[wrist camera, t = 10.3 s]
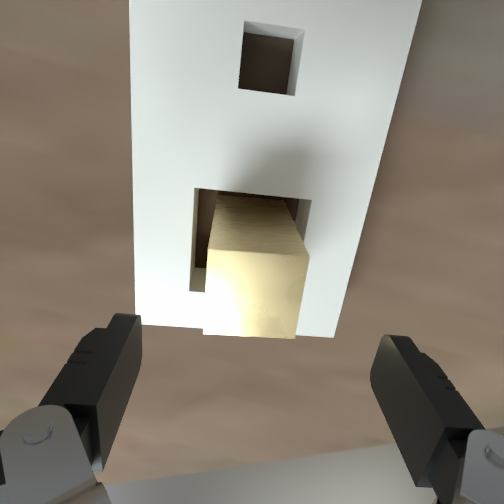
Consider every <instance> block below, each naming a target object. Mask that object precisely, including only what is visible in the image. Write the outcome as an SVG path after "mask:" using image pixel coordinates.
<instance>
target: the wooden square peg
mask: <svg viewBox="0 0 504 504" xmlns="http://www.w3.org/2000/svg"><path fill="white" fill-rule="evenodd" d="M309 259H310V256H309V254H308V251H307V249H306V247H305V245H304V243H303V241H302V238H301V236H300V234H299V232H298V230H297V228H296V225H295V223H294V221H293V219H292V217H291V215H290V212H289V210H288V208H287V206H286V204H285V202H284V200H272V199H261V198H249V197H238V196H227V195H217V201H216V206H215V212H214V217H213V223H212V229H211V234H210V240H209V245H208V255H207V273H206V292H205V310H204V328H203V334H215V335H233V336H252V337H270V338H288V339H295V334H296V329H297V323H298V318H299V313H300V307H301V302H302V297H303V291H304V286H305V281H306V275H307V270H308V265H309Z"/></svg>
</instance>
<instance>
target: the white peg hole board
mask: <svg viewBox="0 0 504 504" xmlns="http://www.w3.org/2000/svg"><path fill="white" fill-rule="evenodd" d="M421 4H422V0H129V18H130V66H131V114H132V162H133V210H134V258H135V306H136V315H140V316H141V322H142V324H148V325H162V326H176V327H190V328H204V310H205V292H206V273H207V268H196V267H195V253H196V235H197V218H198V201H199V188H203V189H213V190H222V191H232V192H241V193H251V194H260V195H270V196H279V197H289V198H298V199H299V205H298V210H297V216H296V221H295V225H296V228H297V230H298V232H299V234H300V236H301V238H302V241H303V243H304V245H305V247H306V249H307V251H308V254H309V256H310V259H309V265H308V270H307V275H306V281H305V286H304V291H303V297H302V302H301V307H300V313H299V318H298V323H297V329H296V334H295V335H304V336H319V337H333V338H334V334H335V330H336V326H337V322H338V319H339V315H340V311H341V307H342V303H343V300H344V296H345V292H346V288H347V284H348V281H349V277H350V273H351V269H352V265H353V262H354V258H355V254H356V250H357V246H358V243H359V239H360V235H361V231H362V227H363V224H364V220H365V216H366V212H367V208H368V205H369V201H370V197H371V193H372V190H373V186H374V182H375V178H376V174H377V171H378V167H379V163H380V159H381V155H382V152H383V148H384V144H385V140H386V136H387V133H388V129H389V125H390V121H391V117H392V114H393V110H394V106H395V102H396V98H397V95H398V91H399V87H400V83H401V79H402V76H403V72H404V68H405V64H406V61H407V57H408V53H409V49H410V45H411V42H412V38H413V34H414V30H415V26H416V23H417V19H418V15H419V11H420V7H421ZM243 32H245V33H252V34H259V35H266V36H272V37H279V38H286V39H293V40H294V45H293V52H292V59H291V66H290V72H289V79H288V86H287V93H286V95H282V94H275V93H267V92H260V91H252V90H245V89H238V83H239V72H240V61H241V50H242V39H243Z"/></svg>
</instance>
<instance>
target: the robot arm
mask: <svg viewBox="0 0 504 504" xmlns="http://www.w3.org/2000/svg"><path fill="white" fill-rule="evenodd" d="M141 359H142V322H141V316H140V315H135V314H123V313H116V314H115V315H114V316H113V318H112V320H111V321H110V323H109V325H108V327H107V328H106V329H105V328H95V329H94V330H92V331H91V332H90V333H88V334H87V335H86V336H84V337H83V338H82V339H81V340H80V342H79V344H78V345H77V347H76V348H75V350H74V353H72V354H71V356H70V357H69V359H68V361H67V364H65V365H64V367H63V368H62V370H61V371H60V373H59V374H58V376H57V378H56V379H55V381H54V382H53V384H52V385H51V387H50V388H49V390H48V391H47V393H46V395H45V396H44V398H43V399H42V401H41V402H40V404H39V405H38V407H35V408H32V409H30V410H27V411H25V412H24V413H22V414H20V415H19V416H17V417H16V418H15V419H13V420H12V421H11V422H10V423H9V424H8V425H7V427H6V428H5V429H4V430H2V431H0V504H111V501H110V499H109V497H108V494H107V491H106V490H105V487H104V485H103V484H102V483H101V482H99V483H98V482H97V480H96V478H95V475H94V473H93V471H97V472H103V469H104V467H105V464H106V461H107V458H108V456H109V453H110V450H111V447H112V445H113V442H114V439H115V437H116V434H117V431H118V428H119V426H120V423H121V420H122V417H123V415H124V412H125V409H126V406H127V404H128V401H129V398H130V395H131V393H132V390H133V387H134V384H135V382H136V379H137V376H138V373H139V370H140V366H141ZM447 378H448V377H447V376H446V374H445V373H444V372H443V370H442V369H441V368H440V366H439V365H438V364H437V363H436V362H435V361H433V360H432V359H431V358H430V357H428V356H427V355H426V354H425V353H420V351H419V350H418V348H417V347H416V345H415V344H414V343H413V341H412V340H411V338H409V337H408V336H397V335H384V336H383V337H382V339H381V341H380V344H379V347H378V350H377V353H376V356H375V359H374V362H373V365H372V368H371V373H370V381H371V387H372V389H373V392H374V394H375V396H376V399H377V401H378V403H379V405H380V407H381V410H382V412H383V414H384V416H385V419H386V421H387V423H388V425H389V428H390V430H391V432H392V434H393V437H394V439H395V441H396V443H397V446H398V448H399V450H400V452H401V454H402V457H403V459H404V461H405V463H406V466H407V468H408V470H409V472H410V474H411V477H412V479H413V481H414V484H415V486H416V487H430V488H433V489H434V491H435V493H436V497H435V499H434V501H433V504H504V437H503V436H501V435H499V434H497V433H494V432H491V431H488V430H486V429H485V428H484V426H483V425H482V424H481V422H480V421H479V420H478V418H477V417H476V416H475V414H474V413H473V411H472V410H471V409H470V407H469V406H468V405H467V403H466V402H465V400H464V399H463V398H462V396H461V395H460V394H459V392H458V391H456V390H455V387H454V385H453V384H452V383H451V381H450V380H448V379H447Z"/></svg>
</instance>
